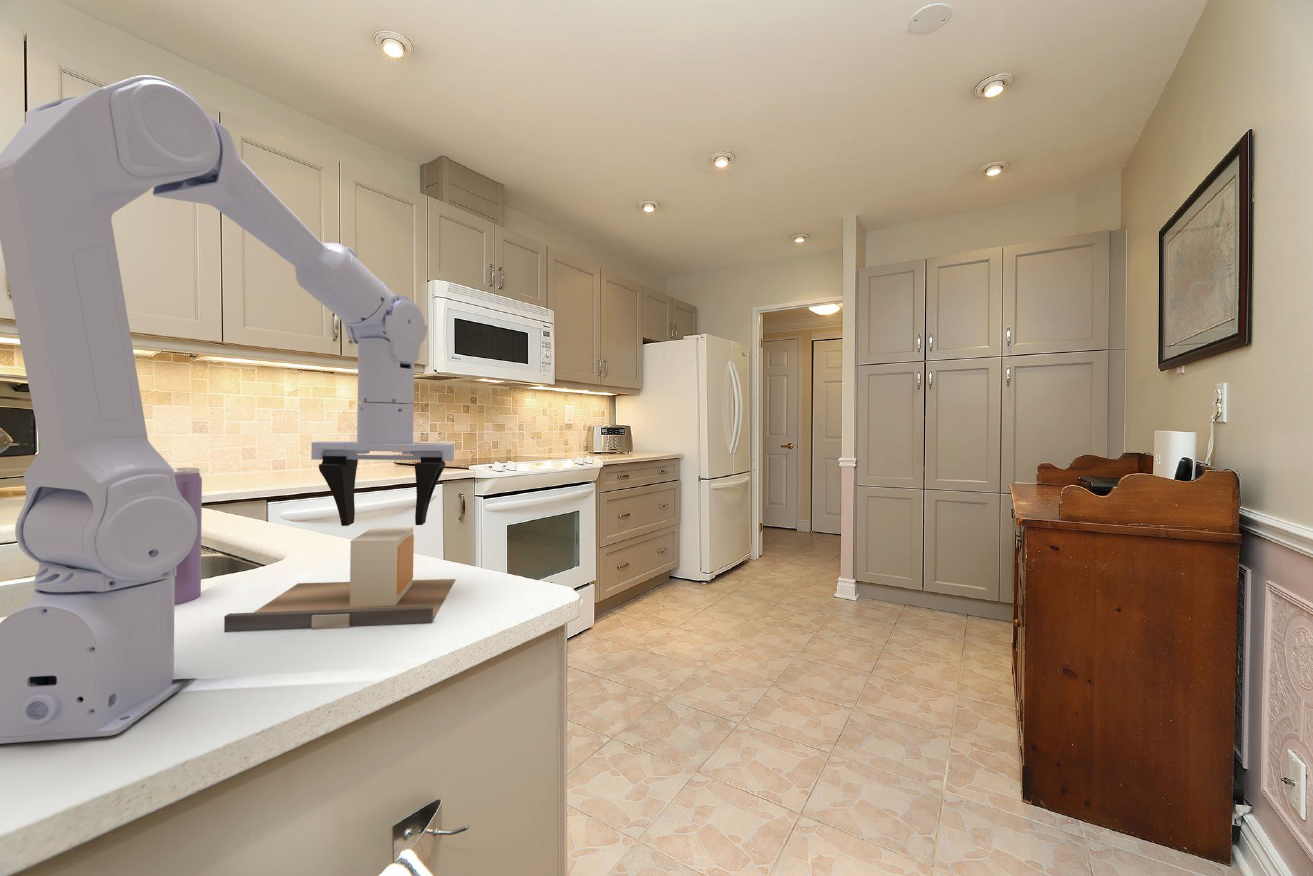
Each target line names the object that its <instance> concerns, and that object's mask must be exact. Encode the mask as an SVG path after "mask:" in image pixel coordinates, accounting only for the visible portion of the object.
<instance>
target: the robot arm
mask: <svg viewBox="0 0 1313 876" xmlns="http://www.w3.org/2000/svg"><path fill="white" fill-rule="evenodd" d="M24 114H25V116H24V117H25V118H24V119H25V122H24V123H23V124H22V126H21V127H20V129H19V130H18V131H17V132H16V134H15V135H14V136H13V138H12V139H11V140H10V141H9V142H8V144H7V145H6V146H5V148H4V149H3V150H2V151H1V153H0V247H1V252H2V257H3V261H4V262H3V263H4V268H5V272H6V273H5V274H6V278H7V283H8V287H9V292H10V297H11V302H12V308H13V313H14V318H15V323H16V328H17V332H18V334H17V335H18V338H19V344H20V349H21V355H22V359H23V364H24V368H25V374H26V380H27V384H28V389H29V394H30V400H31V404H32V411H33V415H34V420H35V425H36V431H37V435H38V439H39V445H40V450H39V453H38V454H37V455H36V457H35V458H34V460H33V461H32V463H31V464H30V465H29V467H28V468H27V469H26V470H25V473H24V475H23V481H24V482H23V483H24V486H25V499H24V505H23V506H22V509H21V511H20V512H19V514H18V517H17V518H16V522H15V531H14V532H15V533H14V535H15V539H16V540H15V541H16V542H17V544H18V547H19V548H20V549H21V551H22V552H23V553H24V555H26V556H27V557H28V558H29V559H31V560H32V561H34V562H36V563H38V569H37V572H36V573H35V577H34V581H33V582H34V584H33V585H34V590H33V593H32V595H31V597H30V599H29V600H28V602H26V604H25V605H24V606H23V607H22V608H20V609H18V610H16V611H14V612H13V613H11V614H10V615H8V616H6V617H5V618H4V619H3V620H1V622H0V745H1V744H13V743H15V744H16V743H28V742H41V741H54V740H55V741H57V740H69V739H85V738H95V737H96V738H97V737H99V738H100V737H109V736H114V735H117V734H120V733H121V732H123V731H124V730H125V729H127V728H128V727H130V726H132V725H133V724H134V723H135V722H137V721H138V720H139V719H141V718H142V717H143V716H145V715H146V714H148V713H149V712H151V710H153V709H154V708H156V707H157V706H159V705H160V704H162V703H163V702H164V701H165V700H167V699H168V698H169V697H171V696H172V695H173V694H175V693H177V692H178V691H179V690H180V689H182V688H183V687H185V686H186V685H187V684H189V683H190V682H191V681H193V680H195V678H193V677H192V678H191V677H190V678H188V677H187V678H174V677H175V605H174V594H175V576H176V567H177V565H178V564H179V563H180V562H181V561H182V560H183V559H184V558H185V557H186V556H187V555H188V553H189V552H190V550H191V549H192V547H193V545H194V542H195V540H196V536H197V529H198V524H197V518H196V515H195V512H194V511H193V509H192V507H191V506H190V505H189V504H188V502H187V501H186V500H185V499H184V498H183V497H182V495H181V494H180V492H179V490H178V488H177V485H176V481H175V475H174V470H173V469H172V467H173V466H171V465H170V464H169V463H168V461H166V459H165V458H164V457H163V456H162V455H161V454H160V453H159V452H158V451H157V450H156V448H155V447H154V446H153V445H152V444H151V443H150V441H149V439H148V434H147V433H148V432H147V427H146V422H145V421H146V420H145V415H144V409H143V408H144V407H143V401H142V396H141V390H140V384H139V377H138V373H137V366H136V361H135V355H134V347H133V343H132V337H131V331H130V329H131V328H130V323H129V319H128V312H127V306H126V305H127V304H126V301H125V299H126V298H125V293H124V288H123V287H124V286H123V283H122V276H121V275H122V274H121V269H120V265H119V258H118V253H117V252H118V251H117V245H116V239H115V232H114V229H113V223H112V217H113V215H114V213H116V212H117V211H119V210H121V209H122V208H123V207H125V206H127V205H129V204H130V203H132V202H133V201H134V200H136V199H138V198H139V197H141V196H143V195H144V194H146V193H147V192H149V191H150V190H151V189H152V195H153V196H154V197H157V198H163V199H169V200H177V201H183V202H189V203H190V202H191V203H196V204H203V205H208V206H212V207H213V208H215V209H216V210H217V211H219V212H220V213H221V214H223V215H224V216H226V217H227V218H228V219H230V220H231V222H234V223H235V224H236V225H238V226H239V227H241V228H242V229H243V230H245V231H246V232H247V233H248V234H250V235H251V236H253V237H254V238H256V239H257V240H258V241H259V242H261V243H263V244H264V245H265V246H267V247H268V248H269V249H271V250H272V251H273V252H275V253H276V254H277V255H279V257H281V258H283V259H284V260H285V261H286V262H288V263H290V264H291V265H292V266H294V272H295V279H296V282H297V284H298V286H300V288H302V289H303V290H305V292H307V293H308V294H309V295H311V296H312V297H313V298H315V300H317V301H318V302H319V303H320V304H322V305H323V306H325V307H326V308H327V309H328V310H330V311H331V313H333V314H334V315H336V316H337V317H338V318H339V320H340V321H341V322H342V323H343V325H344V327H345V331H346V333H347V335H348V337H349V339H350V340H351V341H352V343H353V344H357V345H358V349H357V352H358V353H357V354H358V355H357V356H358V357H357V406H356V407H357V408H356V409H357V411H356V413H357V417H356V419H357V421H356V423H357V425H356V430H357V431H356V441H312V442H311V451H310V452H311V453H310V454H311V455H310V456H311V460H316V461H319V460H322V461H321V463H319V464H318V470H319V472H320V474H321V475H322V477H323V479H324V480H325V482H326V484H327V485H328V488H329V489H330V491H331V494H332V496H333V498H334V502H335V504H336V508H337V511H338V516H339V519H340V520H339V521H340V526H341V527H349V526H351V525H352V524H354V523H355V516H356V515H355V514H356V513H355V512H356V511H355V510H356V508H355V486H356V478H357V470H358V464H359V460H371V461H373V460H374V461H375V460H378V461H379V460H380V461H387V460H389V461H418V462H415V463H414V473H415V487H416V490H415V491H416V498H415V499H416V501H415V502H416V503H415V514H414V518H415V519H414V522H415V526H423V525H424V524H425V523H426V521H427V515H428V510H429V505H430V503H431V498H432V496H433V493H434V491H435V489H436V485H437V484H438V481H439V479H440V477H441V475H442V474H443V471H444V469H445V467H446V462H452V461H454V460H455V443H438V442H436V443H435V442H414V423H415V421H414V419H415V418H414V415H415V414H414V411H415V410H414V409H415V407H414V406H415V405H414V404H415V402H414V401H415V364H416V363H417V362H418V360H419V359H420V347H421V346H422V343H424V341H425V339H426V337H427V333H428V325H427V324H426V323H425V317H424V314H423V311H422V310H421V308H420V307H419V305H417V304H416V302H414V301H412V300H411V299H410V298H409V297H407V296H405V295H404V296H403V295H395V293H394V292H393V291H392V290H391V289H389V286H388V285H387V283H385V282H384V281H382V280H380V279H379V278H378V277H377V276H376V275H375V274H374V273H373V272H371V270H369V269H368V268H367V267H366V266H365V265H364V264H363V263H362V262H361V261H360V260H359V259H358V258H357V256H358V254H357V253H356V252H355V251H354V250H353V249H352V248H351V247H350V246H344V245H343V244H341V243H338V242H323V241H322V240H320V239H319V237H318V236H317V235H315V234H314V232H312V230H310V229H309V227H308V226H307V225H306V224H305V223H304V222H303V221H302V220H301V219H300V218H299V217H298V216H297V215H296V214H295V212H293V211H292V210H291V209H290V208H289V206H287V204H286V203H284V201H283V200H281V198H280V197H279V196H278V195H277V194H276V193H275V192H274V191H273V190H272V189H271V188H270V187H269V186H268V185H267V184H266V183H265V182H264V181H263V179H262V178H260V177H259V175H257V173H255V172H254V170H253V169H252V168H250V166H249V165H248V164H247V163H246V162H245V161H244V160H243V159H242V158H241V156H240V155H239V152H238V150H237V147H236V144H235V142H234V140H233V137H232V134H231V132H230V131H229V129H227V128H226V127H225V126H224V125H223V124H221V123H220V122H219V121H217V120H216V119H215V118H214V117H212V116H210V115H209V114H208V112H207V110H206V109H205V108H204V107H203V105H202V104H201V103H200V102H199V101H198V100H197V99H196V98H195V97H194V96H193V95H192V94H190V93H189V92H188V91H187V90H185V89H183V87H181V86H179V85H178V84H176V83H174V82H172V81H170V80H168V79H165V78H162V77H159V76H154V75H147V74H146V75H144V74H142V75H137V76H132V77H129V78H126V79H122V80H120V81H117V82H114V83H111V84H107V85H105V86H102V87H99V88H96V89H94V90H92V91H89V92H88V93H86V94H83V95H79V96H73V97H69V98H68V97H65V98H60V99H58V100H55V101H52V102H50V103H46V104H44V105H41V106H37V107H35V108H32V109H29V110H27V111H25V113H24ZM370 452H401V454H402V455H401V454H399V455H398V454H394V455H393V454H369V453H370Z"/></svg>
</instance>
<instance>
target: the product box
mask: <svg viewBox="0 0 1313 876" xmlns="http://www.w3.org/2000/svg"><path fill="white" fill-rule="evenodd" d="M414 537H415V536H414V526H392V527H391V526H386V527H385V526H384V527H382V526H380V527H379V526H376V527H372V528H370V529H367V530H366V531H365V532H363V533H362V534H360V535H358V536H356V537H354V538H353V539H352V540H350V552H349V553H350V558H349V559H350V561H349V562H350V568H349V582H350V607H365V606H393V605H396V604H397V603H398V602H399V600H400V599H401V598H402V597H403V595H404V594H405V593H406V592H407V590H408V589H409V588H410V587H411V585H412V580H413V578H414V547H415V544H414V541H415V538H414Z"/></svg>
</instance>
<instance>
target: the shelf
mask: <svg viewBox="0 0 1313 876" xmlns="http://www.w3.org/2000/svg"><path fill="white" fill-rule="evenodd" d="M456 580H457V579H456V578H449V579H448V578H444V579H443V578H442V579H441V578H440V579H439V578H438V579H412V585H411V587H410V588H409V589H408V590H407V592H406V593H405V594H404V595H403V597H402V598H401V599H400V600H399V602H398V603H397V604H396V605H393V606H365V607H350V581H335V582H334V581H333V582H332V581H331V582H329V581H327V582H302V583H301V582H298V583H296V584H295V585H293V586H292V587H290V588H289V589H286V591H284V592H283V593H281V594H279V595H278V596H276V597H275V598H273V599H271V600H270V601H269V602H267V603H266V604H264V605H263V606H261V607H260V608H258V609H257V610H255V611H254V612H242V613H241V612H239V613H238V612H237V613H236V612H235V613H232V612H231V613H228V614H226V615H224V618H223V619H224V621H223V623H224V625H223V626H224V628H223V629H224V630H223V632H224V633H231V632H234V633H235V632H237V633H239V632H255V631H259V632H260V631H278V630H281V631H282V630H285V631H286V630H303V629H304V630H305V629H306V630H307V629H311V630H328V629H333V630H334V629H349V628H353V627H356V628H357V627H373V626H374V627H376V626H378V627H379V626H399V625H400V626H401V625H403V626H404V625H424V624H432V623H433V621H434V619H435V618H436V617H437V614H438V613H439V611H440V609H441V607H442V605H443V604H444V602H445V600H446V598H447V596H448V594H449V592H450V590H451V589H452V588H453V585H454V584H455V582H456Z"/></svg>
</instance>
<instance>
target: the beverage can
mask: <svg viewBox="0 0 1313 876" xmlns="http://www.w3.org/2000/svg"><path fill="white" fill-rule="evenodd" d="M171 467H172V469H173V470H174V475H175V481H176V485H177V488H178V490H179V492H180V494H181V495H182V497H183V498H184V499H185V500H186V501H187V502H188V504H189V505H190V506H191V507H192V509H193V511H194V512H195V515H196V518H197V524H198V529H197V536H196V540H195V542H194V545H193V547H192V549H191V550H190V552H189V553H188V555H187V556H186V557H185V558H184V559H183V560H182V561H181V562H180V563H179V564H178V565H177V567H176V576H175V594H174V606H178V605H182V604H186V603H189V602H192V601H196V600H197V599H198V598H201V597H202V594H201V593H202V592H201V591H202V518H203V517H202V515H203V513H202V507H203V505H202V502H203V501H202V499H203V495H202V494H203V492H202V491H203V490H202V489H203V478H202V476H201V474H200V471H201V469H200V468H199V467H187V466H184V467H183V466H182V467H181V466H180V467H179V466H178V467H177V466H171Z"/></svg>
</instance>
